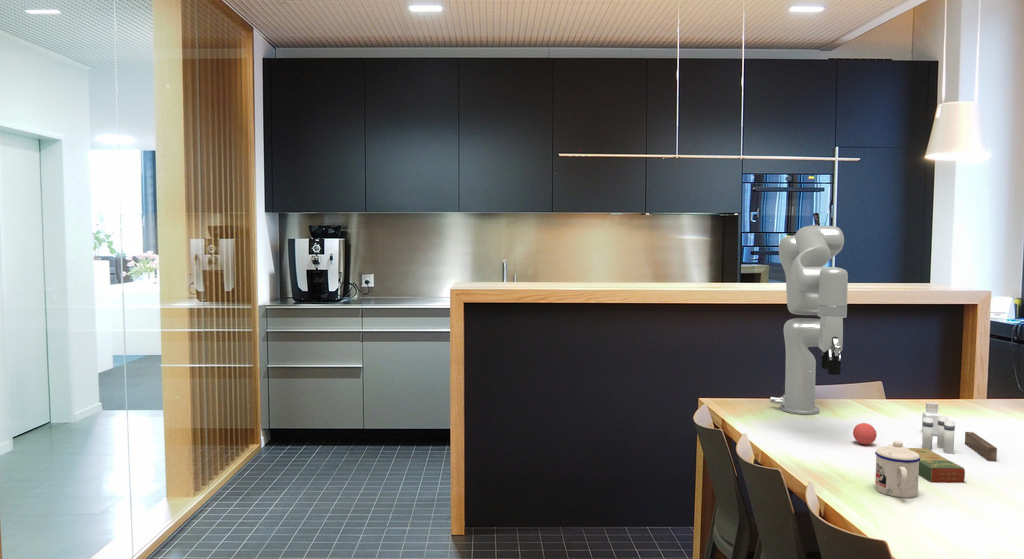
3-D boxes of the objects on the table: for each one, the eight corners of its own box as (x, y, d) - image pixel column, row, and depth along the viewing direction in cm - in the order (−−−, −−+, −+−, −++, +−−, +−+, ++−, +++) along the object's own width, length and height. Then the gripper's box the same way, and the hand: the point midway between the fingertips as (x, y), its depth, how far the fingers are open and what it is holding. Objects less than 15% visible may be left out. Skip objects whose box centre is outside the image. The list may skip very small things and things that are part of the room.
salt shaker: (940, 436, 207) (942, 404, 206) (926, 435, 207) (927, 404, 207) (935, 432, 210) (936, 401, 210) (921, 431, 211) (922, 401, 211)
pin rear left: (938, 448, 194) (939, 418, 194) (935, 445, 197) (936, 416, 196) (948, 448, 194) (949, 418, 193) (945, 446, 196) (946, 416, 196)
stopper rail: (987, 460, 183) (988, 447, 183) (964, 443, 199) (965, 431, 199) (996, 461, 183) (997, 448, 183) (972, 444, 198) (973, 432, 198)
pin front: (923, 449, 193) (924, 419, 193) (920, 446, 196) (921, 417, 195) (933, 450, 192) (934, 419, 192) (930, 447, 195) (931, 417, 194)
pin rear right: (944, 453, 190) (946, 422, 189) (941, 450, 192) (942, 420, 192) (955, 454, 189) (956, 423, 188) (951, 451, 191) (953, 421, 191)
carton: (926, 463, 182) (927, 447, 182) (965, 485, 166) (966, 467, 166) (894, 463, 182) (895, 446, 182) (930, 484, 166) (931, 466, 166)
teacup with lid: (870, 483, 166) (872, 434, 165) (913, 487, 163) (915, 438, 163) (881, 500, 154) (882, 449, 154) (927, 505, 152) (929, 452, 151)
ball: (855, 446, 196) (855, 425, 196) (850, 440, 202) (851, 420, 201) (878, 448, 194) (879, 426, 194) (873, 442, 200) (873, 421, 200)
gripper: (812, 308, 208) (811, 365, 209) (823, 314, 191) (822, 376, 192) (840, 309, 206) (838, 367, 207) (853, 314, 189) (851, 377, 190)
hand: (830, 371), depth 199 cm, fingers open, 9 cm apart
